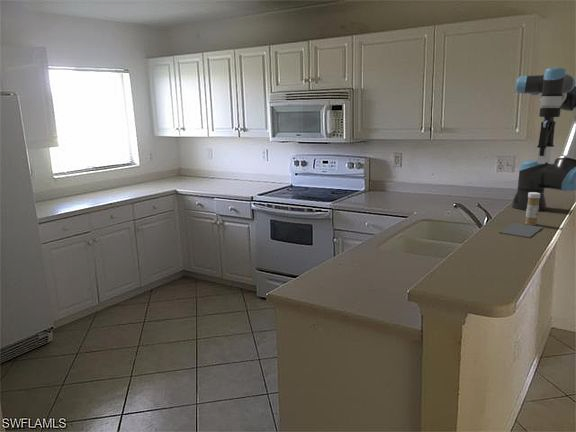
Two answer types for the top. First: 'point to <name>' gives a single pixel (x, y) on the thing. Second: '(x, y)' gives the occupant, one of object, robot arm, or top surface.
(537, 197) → the sprinkles bottle
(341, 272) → the top surface
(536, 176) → the robot arm
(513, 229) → the mat
